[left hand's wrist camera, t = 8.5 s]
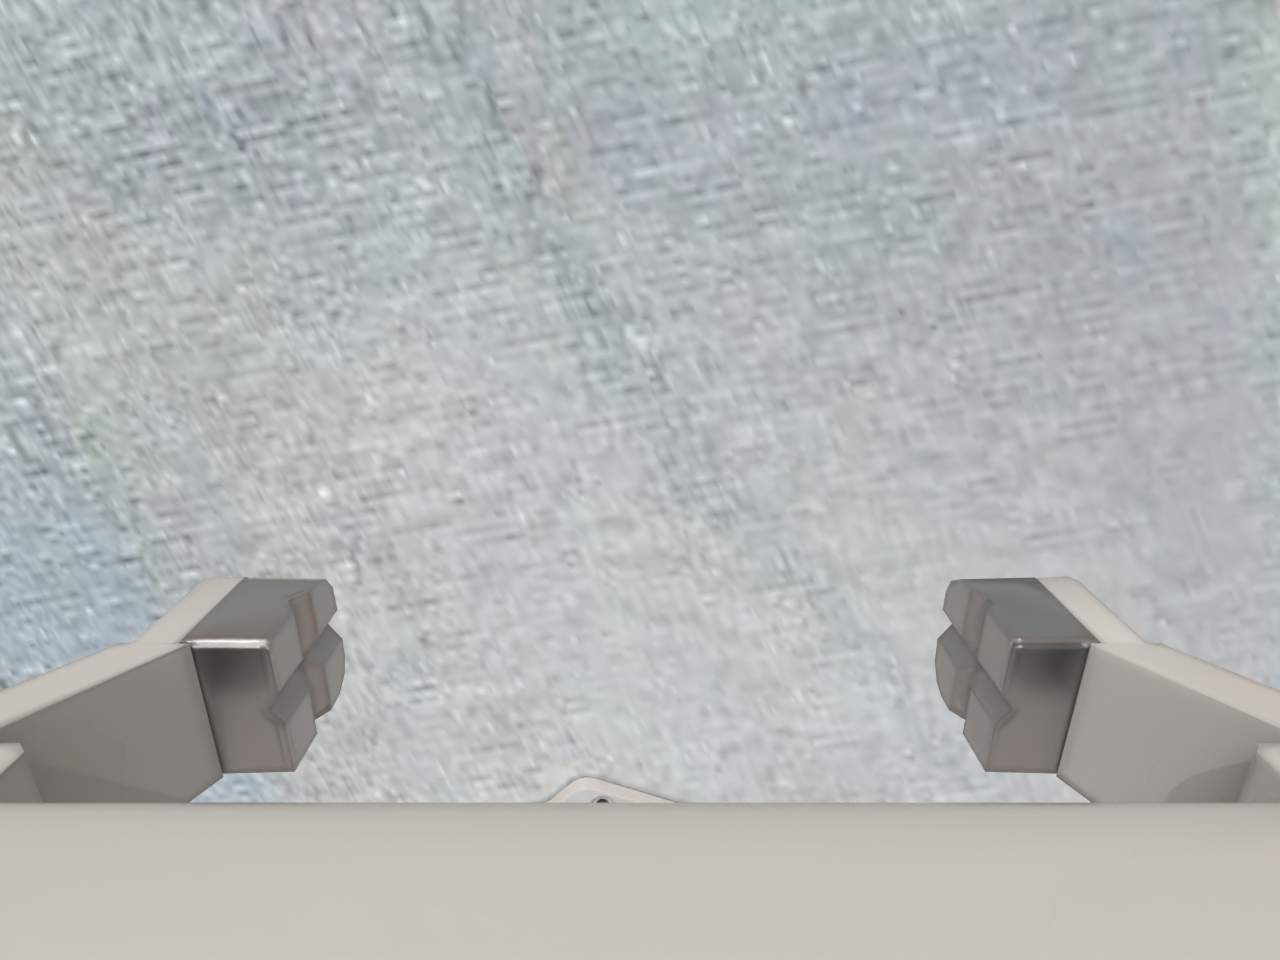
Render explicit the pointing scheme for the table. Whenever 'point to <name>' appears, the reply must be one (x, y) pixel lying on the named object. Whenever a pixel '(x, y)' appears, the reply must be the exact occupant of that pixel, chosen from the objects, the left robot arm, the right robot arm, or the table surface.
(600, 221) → the table surface
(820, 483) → the table surface
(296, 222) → the table surface
